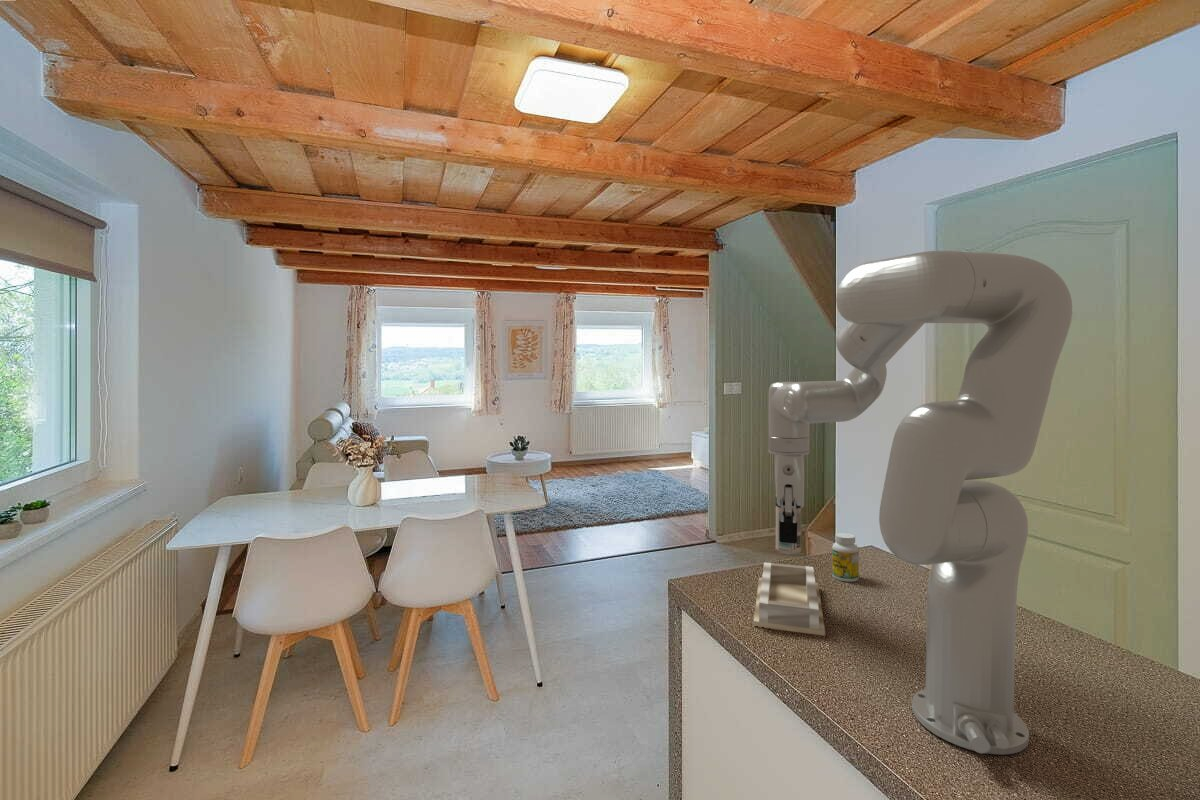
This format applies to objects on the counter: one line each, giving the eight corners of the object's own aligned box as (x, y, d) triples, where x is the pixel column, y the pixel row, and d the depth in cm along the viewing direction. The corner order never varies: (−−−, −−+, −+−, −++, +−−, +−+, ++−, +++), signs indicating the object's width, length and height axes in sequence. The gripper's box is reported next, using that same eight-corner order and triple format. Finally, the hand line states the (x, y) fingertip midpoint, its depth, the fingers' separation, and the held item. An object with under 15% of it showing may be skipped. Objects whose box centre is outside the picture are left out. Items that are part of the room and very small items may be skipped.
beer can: (797, 548, 110) (797, 488, 109) (804, 556, 105) (804, 493, 104) (772, 547, 110) (773, 488, 109) (778, 555, 105) (778, 493, 105)
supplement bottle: (863, 579, 121) (864, 536, 121) (848, 584, 118) (849, 540, 118) (841, 571, 126) (842, 530, 125) (826, 576, 123) (827, 534, 122)
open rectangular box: (824, 635, 95) (825, 610, 95) (753, 626, 99) (753, 602, 99) (818, 588, 116) (818, 567, 116) (759, 582, 120) (759, 561, 120)
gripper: (811, 452, 97) (810, 553, 98) (807, 440, 113) (807, 527, 114) (766, 451, 99) (766, 550, 100) (769, 439, 115) (769, 524, 116)
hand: (788, 537), depth 107 cm, fingers closed on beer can, 4 cm apart
